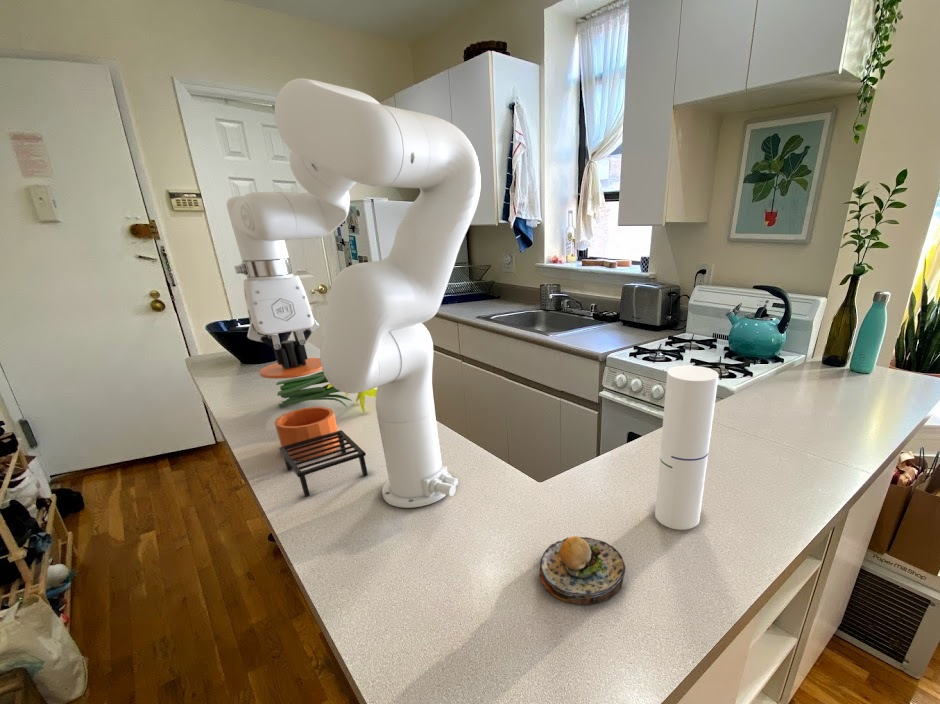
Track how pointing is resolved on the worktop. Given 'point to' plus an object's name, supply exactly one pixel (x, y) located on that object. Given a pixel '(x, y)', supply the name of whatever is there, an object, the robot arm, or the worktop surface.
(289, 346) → the lid
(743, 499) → the worktop surface
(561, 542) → the burger
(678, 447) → the cylindrical container
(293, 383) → the daffodil flowers
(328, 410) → the pot
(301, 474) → the rack
